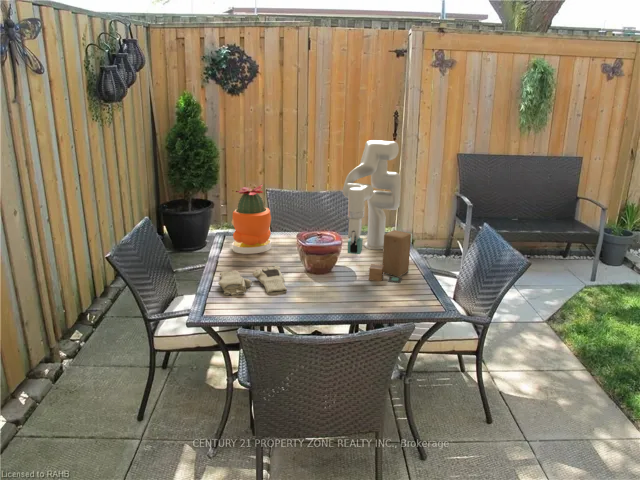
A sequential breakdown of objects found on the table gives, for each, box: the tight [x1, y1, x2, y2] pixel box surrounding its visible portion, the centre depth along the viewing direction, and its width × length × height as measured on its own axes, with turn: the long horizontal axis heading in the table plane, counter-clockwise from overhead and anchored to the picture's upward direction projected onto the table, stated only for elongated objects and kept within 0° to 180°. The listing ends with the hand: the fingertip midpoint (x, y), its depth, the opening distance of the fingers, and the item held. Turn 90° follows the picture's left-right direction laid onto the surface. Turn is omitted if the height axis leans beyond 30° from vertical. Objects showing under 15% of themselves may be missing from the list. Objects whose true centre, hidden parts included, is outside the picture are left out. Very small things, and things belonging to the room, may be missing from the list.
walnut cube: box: [368, 263, 384, 282], centre depth 255 cm, size 6×6×6 cm
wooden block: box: [381, 229, 412, 278], centre depth 261 cm, size 10×10×20 cm
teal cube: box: [347, 237, 364, 255], centre depth 256 cm, size 6×6×6 cm
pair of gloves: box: [218, 265, 288, 297], centre depth 247 cm, size 30×26×5 cm
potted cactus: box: [231, 184, 272, 255], centre depth 287 cm, size 22×22×35 cm
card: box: [387, 275, 403, 284], centre depth 254 cm, size 6×6×1 cm
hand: (354, 249), depth 256 cm, fingers closed on teal cube, 6 cm apart
